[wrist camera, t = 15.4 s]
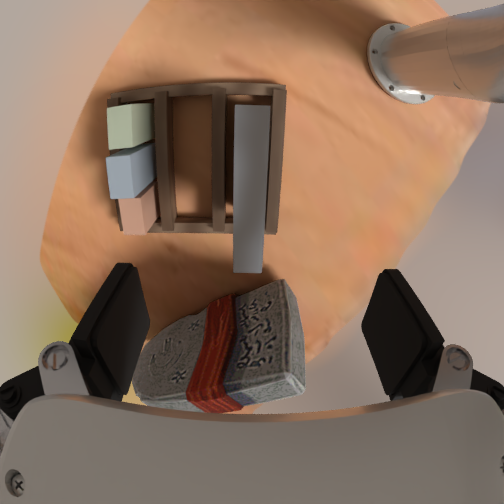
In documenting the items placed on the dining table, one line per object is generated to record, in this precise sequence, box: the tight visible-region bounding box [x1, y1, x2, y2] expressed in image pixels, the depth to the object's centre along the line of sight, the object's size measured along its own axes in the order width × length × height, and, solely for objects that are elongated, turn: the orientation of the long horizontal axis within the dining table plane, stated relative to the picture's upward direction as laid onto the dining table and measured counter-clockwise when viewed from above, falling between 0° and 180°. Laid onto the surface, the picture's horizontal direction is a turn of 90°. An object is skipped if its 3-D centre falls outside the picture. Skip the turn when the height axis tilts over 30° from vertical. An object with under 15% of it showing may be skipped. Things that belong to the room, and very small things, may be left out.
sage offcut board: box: [107, 103, 155, 150], centre depth 28 cm, size 3×5×8 cm, turn 178°
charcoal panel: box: [233, 105, 271, 273], centre depth 28 cm, size 2×14×16 cm, turn 178°
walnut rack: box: [107, 83, 287, 235], centre depth 33 cm, size 22×20×3 cm
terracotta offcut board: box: [118, 181, 160, 235], centre depth 34 cm, size 3×5×7 cm, turn 178°
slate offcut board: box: [106, 143, 157, 199], centre depth 31 cm, size 3×5×9 cm, turn 178°
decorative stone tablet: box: [132, 279, 306, 413], centre depth 40 cm, size 19×6×30 cm
